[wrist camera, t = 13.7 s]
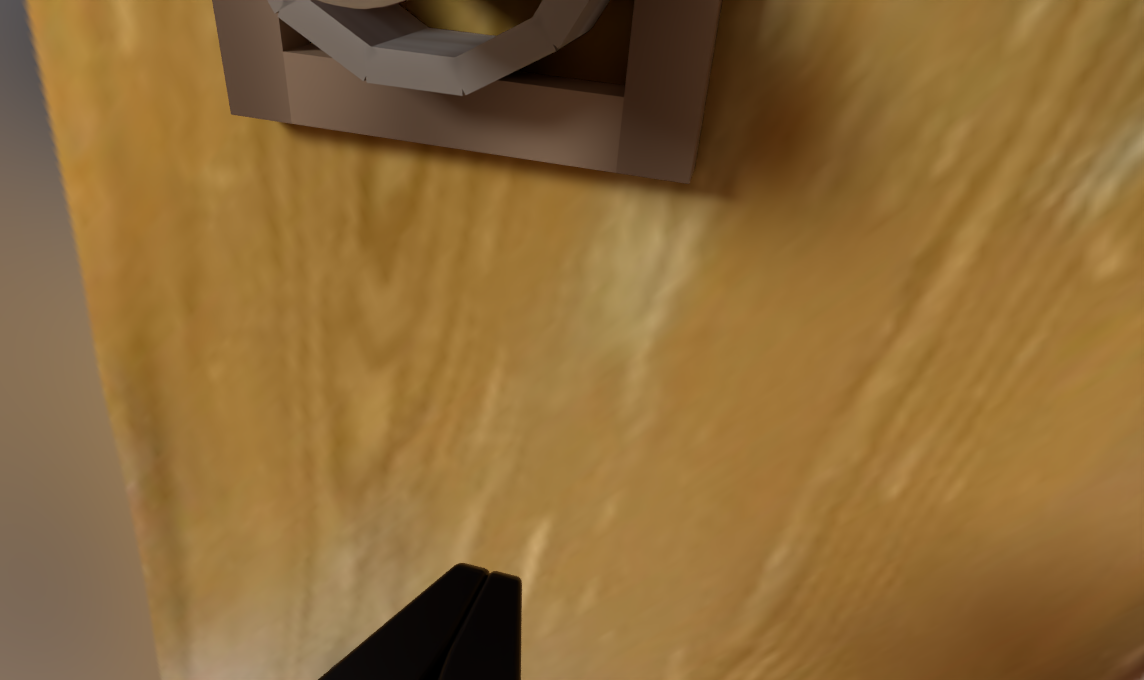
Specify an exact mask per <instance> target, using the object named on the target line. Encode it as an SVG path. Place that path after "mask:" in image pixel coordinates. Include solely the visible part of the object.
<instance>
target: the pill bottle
mask: <svg viewBox="0 0 1144 680" xmlns="http://www.w3.org/2000/svg"><path fill="white" fill-rule="evenodd" d="M318 1H321V2H324V3H328V4H332V5H337V6H342V7H348V8H355V9H370V8H381V7H387V6H391V5H395V4H398V3H402V2H404V1H406V0H318Z"/></svg>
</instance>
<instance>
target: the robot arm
mask: <svg viewBox="0 0 1144 680" xmlns="http://www.w3.org/2000/svg"><path fill="white" fill-rule="evenodd" d="M521 608H522V582H521V579H520V578H519V577H517V576H514V575H510V574H506V573H502V572H498V571H493V572H491V573H489V571H488V570H487V569H485V568H482V567H478V566H474V565H470V564H466V563H459V564H457V565H455V566H453V567H452V568H451V569H450V570H449V571H447V572H446V573H445V574H444V575H443V576H441V577H440V578H439V579H438V580H437V581H435V582H434V583H433V584H432V585H431V586H429V587H428V588H427V589H426V590H425V591H423V592H422V593H421V594H420V595H419V596H418V597H416V598H415V599H414V600H413V601H412V602H410V603H409V604H408V605H407V606H406V607H404V608H403V609H402V610H401V611H400V612H398V613H397V614H396V615H395V616H394V617H392V618H391V619H390V620H389V621H388V622H386V623H385V624H384V625H383V626H382V627H380V628H379V629H378V630H377V631H376V632H374V633H373V634H372V635H371V636H370V637H368V638H367V639H366V640H365V641H364V642H362V643H361V644H360V645H359V646H358V647H357V648H355V649H354V650H353V651H352V652H351V653H349V654H348V655H347V656H346V657H345V658H343V659H342V660H341V661H340V662H339V663H337V664H336V665H335V666H334V667H333V668H331V669H330V670H329V671H328V672H327V673H325V674H324V675H323V676H322V677H321V678H319V679H318V680H521Z"/></svg>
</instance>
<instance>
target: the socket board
mask: <svg viewBox="0 0 1144 680" xmlns="http://www.w3.org/2000/svg"><path fill="white" fill-rule="evenodd" d="M609 1H610V0H542V2H541V4H540V5H539V7H538V9H537V10H536V12H535V14H534V16H533V17H532V18H530V19H528V20H527V21H525V22H523V23H521V24H519V25H517V26H515V27H513V28H511V29H509V30H507V31H505V32H503V33H501V34H500V35H498V36H492V35H484V34H476V33H468V32H460V31H452V30H444V29H435V28H428V27H427V26H426V25H425V24H423V23H422V22H421V21H419V20H418V19H417V18H416V17H414V16H413V15H412V14H410V13H409V12H408V11H406V10H405V9H404V8H403V7H401V6H400V5H399V4H395V5H391V6H387V7H381V8H370V9H355V8H348V7H342V6H337V5H332V4H328V3H324V2H321V1H318V0H212V2H213V8H214V14H215V20H216V26H217V32H218V38H219V44H220V50H221V56H222V62H223V68H224V74H225V80H226V86H227V92H228V99H229V105H230V111H231V114H232V115H238V116H245V117H252V118H258V119H265V120H271V121H278V122H284V123H291V124H298V125H304V126H311V127H317V128H324V129H330V130H337V131H344V132H350V133H357V134H363V135H370V136H377V137H383V138H390V139H396V140H403V141H409V142H416V143H423V144H429V145H436V146H442V147H449V148H456V149H462V150H469V151H475V152H482V153H488V154H495V155H502V156H508V157H515V158H521V159H528V160H534V161H541V162H548V163H554V164H561V165H567V166H574V167H581V168H587V169H594V170H600V171H607V172H613V173H620V174H627V175H633V176H640V177H646V178H653V179H660V180H666V181H673V182H679V183H686V184H690V181H691V178H692V175H693V172H694V169H695V164H696V157H697V151H698V145H699V139H700V133H701V127H702V121H703V115H704V109H705V103H706V97H707V91H708V85H709V79H710V73H711V66H712V60H713V54H714V48H715V42H716V36H717V30H718V24H719V18H720V12H721V6H722V0H634V9H633V19H632V28H631V37H630V47H629V56H628V65H627V74H626V84H625V85H618V84H610V83H603V82H595V81H587V80H580V79H572V78H564V77H557V76H549V75H542V74H534V73H526V72H519V71H517V70H519V69H521V68H523V67H525V66H527V65H529V64H531V63H533V62H535V61H537V60H539V59H541V58H543V57H545V56H547V55H549V54H551V53H553V52H555V51H557V50H559V49H560V48H562V47H564V46H565V45H567V44H568V43H570V42H572V41H573V40H575V39H577V38H578V37H580V36H581V35H583V34H585V33H586V32H588V31H589V30H590V29H592V27H593V26H594V24H595V23H596V21H597V20H598V18H599V16H600V15H601V13H602V12H603V10H604V9H605V7H606V6H607V4H608V3H609ZM309 41H311V42H312V43H313V44H315V45H313V44H309Z"/></svg>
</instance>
